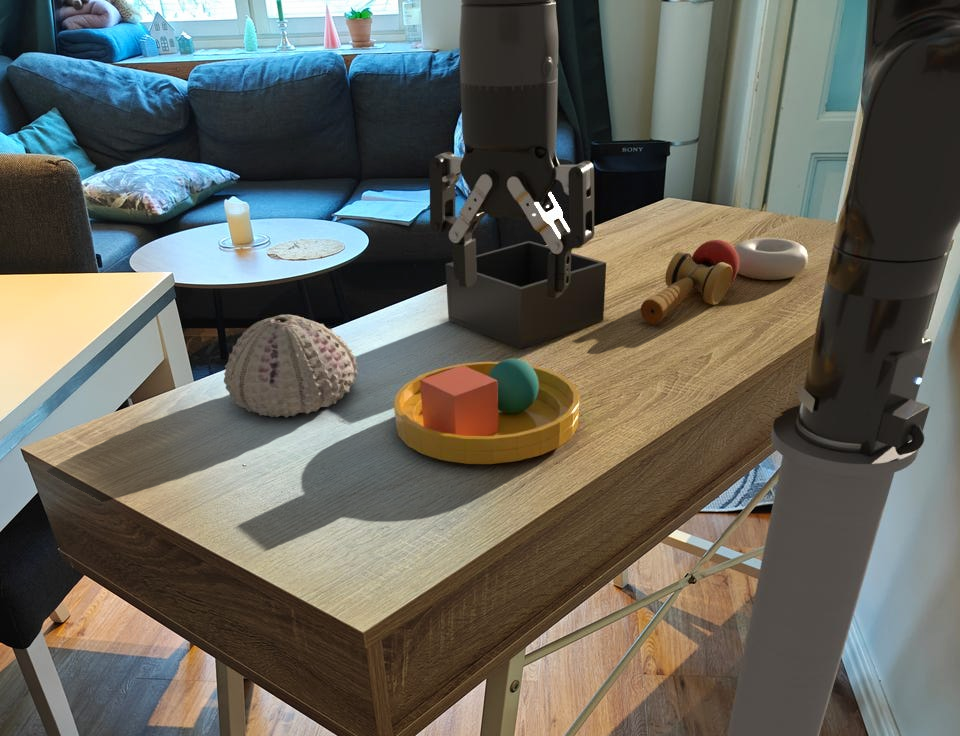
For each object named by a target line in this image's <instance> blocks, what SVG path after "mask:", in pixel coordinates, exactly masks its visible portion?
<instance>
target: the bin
mask: <svg viewBox="0 0 960 736" xmlns="http://www.w3.org/2000/svg"><path fill="white" fill-rule="evenodd" d="M550 252H551V250H550V249H549V247H548V245H545V244H542V243H539V242H534V241H531V240H527V241H522V242H520V243H517V244H513V245H512V244H511V245H509V246H505V247H501V248H499V249H494V250H491V251H487V252H483V253H480V254H476V263H477V280H476V282H475V284H473V285H471V286H470V287H468V288H466V287H460V285H459V280H457V279H456V278H455V275H454V266H453V262H454V261H451V262H448V263H445V265H444V266H445V280H446V282H445V283H446V298H447V299H446V300H447V302H446V303H447V315H448V316H447V317H448V318H447V319H448V321H449V322H451V323H454V324H456V325H458V326H461V327H464V328H467V329H468V330H471V331H473V332H476V333H479V334H481V335H484V336H486V337H489V338H491V339H494V340H496V341H499V342H501V343H503V344H506V345H509V346H512V347H514V348H517V349H519V350H525V349H526V348H529V347H532V346H535V345H539V344H540V343H543V342H546V341H549V340H552V339H554V338H557V337H560V336H563V335H565V334H569V333H571V332H575V331H577V330H580V329H582V328H585V327H589V326H591V325H594V324H597V323H600V322H603V321H604V315H605V298H606V278H607V262H606V261H601V260H598V259H594V258H592V257H588V256H583V255H580V254H576V253H573V252H571V274H570V275H571V276H570V284H569V286H568V288H567V289H565V290H564V292H563V294H562V295H560V296H559V297H558V298H557V299H554V298H548V297H547V269H548V254H549V253H550Z"/></svg>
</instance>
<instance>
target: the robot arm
mask: <svg viewBox="0 0 960 736" xmlns="http://www.w3.org/2000/svg"><path fill="white" fill-rule="evenodd" d="M866 1H867V4H866V26H865V27H866V28H865V43H864V58H863V69H862V71H863V72H862V79H861V90H860V109H861V115H862V122H861V127H860V128H861V129H860V131H859V137H858V141H857V147H856V151H855V156H854V160H853V165H852V170H851V175H850V179H849V180H850V181H849V185H848V189H847V193H846V195H845V200H844V203H843V206H842V208H841V210H840V212H839V216H838V220H837V224H836V229H835V234H834V238H833V239H834V240H833V244H832V248H831V254H830V259H829V264H828V268H827V273H826V279H825V282H824V287H823V293H822V298H821V303H820V308H819V313H818V317H817V321H816V327H815V331H814V336H813V342H812V346H811V352H810V355H809V361H808V366H807V370H806V371H807V372H806V376H805V380H804V385H803V386H802V384H799V385H798V390H797V396H796V398H797V400H799V402H800V404H799V405H800V408H799V410H800V411H799V413H798V416H797V420H796V425H795V428H796V431H797V433H798V434H799V435H800V436H801V437H802V438H803V439H805V440H806V441H808V442H810V443H812V444H814V445H817V446H819V447H822V448H825V449H829V450H834V451H839V452H847V453H859V454H863V455H866V456H869V457H872V456H874V455H876V454H877V453H879V452H881V451H882V450H884V449H886V448H888V447H890V446H892V447H895V449H896V452H897V454H898V455H903V454H907V453H911V452H914V451H916V450H918V449H919V450H920V449H921V448H922V446H923V444H924V442H925V434H924V430H925V429H924V428H925V424H926V423H927V419H928V415H929V412H930V408H931V405H929V404H926V403H923V402H920V401H916V400H917V398H918V395H919V390H920V387H921V383H922V381H923V377H924V373H925V370H926V366H927V363H928V359H929V356H930V353H931V348H932V346H933V345H932V344H933V342H932V340H931V339H930V338H926V337H925V336H926V332H927V328H928V325H929V321H930V318H931V314H932V310H933V307H934V303H935V300H936V296H937V292H938V289H939V285H940V283H941V278H942V275H943V271H944V268H945V264H946V261H947V257H948V253H949V251H950V249H951V244H952V241H953V237H954V234H955V232H956V230H957V228H958V226H959V225H960V0H866ZM460 3H461V5H460V23H459V34H458V35H459V37H458V43H459V44H458V50H459V51H458V52H459V55H458V56H459V58H458V71H459V77H460V79H459V81H460V105H461V131H462V132H461V133H462V135H461V136H462V141H463V144H464V145H463V146H464V152H463V156H462V157H461V156H456V155H455V154H454V153H453V152H451V151H446V152H443V153H440V154H437V155H436V156H434V157H432V158H430V160H429V227H430V230H431V231H432V233H434V234H442V235H443V236H445V237H447V238H448V239H449V240H450V242H451V245H452V262H453V266H454V275H455V278H456V279H457V280H459V285H460V287H466V288H468V287H470V286H471V285H473V284H475V282H476V280H477V263H476V255H477V239H476V238H474V237H473V234H474V232H475V230H476V229H477V228H478V226H479V224H480V223H481V222H482V220H483V218H485V216H486V215H487V217H488V218H493V219H499V218H502V217H506V218H509V219H510V220H514V221H523V220H525V219H527V220H528V221H529V223H530V224H531V226H532V228H533V229H534V231H536V232H538V233H539V234H540V235H541V238H542V239H543V240H544V242H545V244H546V246H548V247H549V249H550V250H551V252H550V253H549V254H548V269H547V297H548V298H554V299H557V298H558V297H559V296H560V295H562V294H563V292H564V290H565V289H567V288H568V286H569V284H570V276H571V275H570V274H571V253H572V252H573V249H579V248H581V247H583V246H584V245H585V244H587V243H588V242H590V241H591V240H592V239H593V238H594V236H595V167H594V164H593V163H592V162H591V161H590V160H584V161H582V162H580V163H578V164H560V162H559V160H558V158H557V157H558V156H557V152H556V145H557V137H558V135H557V134H558V133H557V130H558V89H559V88H558V86H559V85H558V84H559V83H558V82H559V29H558V28H559V27H558V19H557V2H556V0H460ZM461 176H462V178H463V180H464V182H465V183H466V185H467V187H468V188H469V190H470V192H471V193H470V194H469V196H468V197H467V199H466V201H465V202H464V204H463V205H462V207H461V209H460V210H459V211H458V216H457V217H456V186H457V185H456V184H457V183H458V182H459V181H460V178H461ZM558 182H560V183H561V185H562V190H563V192H564V194H566V195H567V196H568V217H569V219H568V220H569V222H568V223H569V226H568V224H567V222H566V221H565V219H564V218H563V211H562V209H561V207H560V206H559V204H558V202H557V201H556V199H555V197H554V195H553V194H552V191H553V189H554V188H555V186H556V185H557V183H558ZM911 440H912V441H911ZM909 441H911V442H909ZM907 442H908V443H907ZM919 450H918V451H919Z"/></svg>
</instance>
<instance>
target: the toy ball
mask: <svg viewBox="0 0 960 736" xmlns="http://www.w3.org/2000/svg"><path fill="white" fill-rule="evenodd" d="M498 362H499V363H498V364H496V365H495V366H494V367H493V368H492V370H491V371H490V373H489V375H488V377H491V378H493V379H495V380H497V391H498V410H500V411H502V412H505V413H511V414H513V413H519V412H522V411H524V410H526V409H527V408H529V407H530V406H531V405H532V404H533V402H534V401H535V399H536V397H537V394H538V389H539V384H538V378H537V375H536V373H535V371H534V370H533V368H532V367H531V366H530V365H531V364H529V363H527V362H526V361H525V360H522V359H518V358H507V359H506V358H505V359H503V360H501V361H498Z"/></svg>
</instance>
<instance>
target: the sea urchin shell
mask: <svg viewBox="0 0 960 736" xmlns="http://www.w3.org/2000/svg"><path fill="white" fill-rule="evenodd" d="M356 359H357V356H356V355H354V353H353V351H352V349H351V348H349V346H348V344H347V343H346V342H345V341H344V340H343V339H342V337H341V335H338V334H336V333H335V332H334V331H333V328H328V327H326V326H325V324H324V323H319V322H317V321H315V320H312V319H307V318H304V316H302V317H301V316H299V315H293V314H279V315H275V316H272V317H268V318H265V319H262V320H260V321H259V320H258V321H257V322H255V323H253V324H252V325H250V326H249V327H248V328H247V329H246V330H245V331H243V332H242V334H241V336H240V337H238V338H237V341H236V344H235V345H232V351H231V353H229V354H228V360H227V363H226V364H225V365H224V368H225V371H224V372H223V374H224V378H223V383H224V384H225V390H226V391H227V392H228V393H229V397H230V398H231V399H232V402H233V403H235V404H237V406H238V408H244V409H245V410H246V411H248V412H249V413H251V412H253V413H257V414H259V415H260V416H264V417H265V416H267V417H268V416H269V417H270V418H273V417H275V418H279V417H280V416H283V417H285V418H289V417H290V416H291V417H295V416H297V415H298V414H300V413H301V414H306V415H308V414H309V413H311V412H317V411H318V410H319V409H320V408H329V407H330V406H332V404H333V405H334V404H336V403H337V401H338V400H342V399H343V398H344V395H345V394H348V393H350V389H351V386H352V385H353V384H354V383H356V377H357V376H358V375H359V373H358V370H357V368H358V367H359V364H358V363H357V362H356Z"/></svg>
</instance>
